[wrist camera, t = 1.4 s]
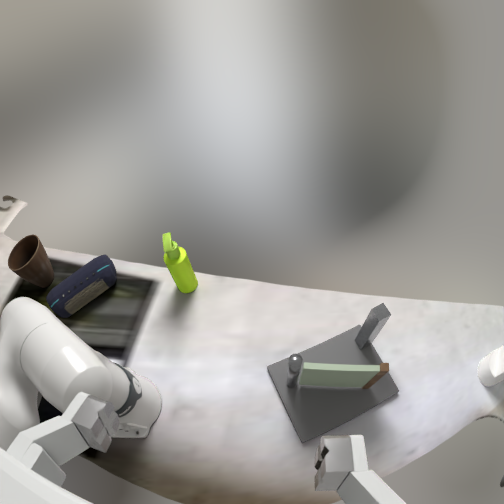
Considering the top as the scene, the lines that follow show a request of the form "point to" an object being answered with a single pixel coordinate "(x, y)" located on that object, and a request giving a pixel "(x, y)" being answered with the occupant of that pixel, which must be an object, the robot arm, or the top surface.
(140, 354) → the top surface
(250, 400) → the top surface
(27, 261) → the plant pot
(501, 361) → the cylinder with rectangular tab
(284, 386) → the gate frame
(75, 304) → the portable speaker
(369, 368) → the gate leaf
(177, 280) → the soap dispenser
